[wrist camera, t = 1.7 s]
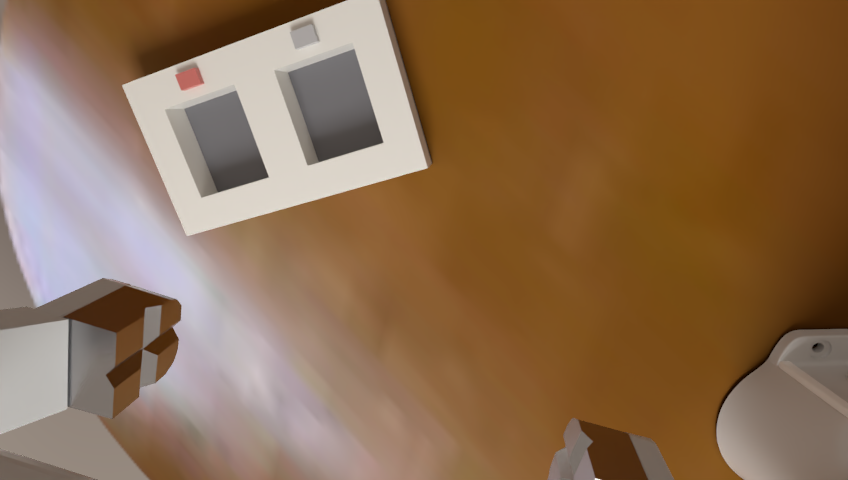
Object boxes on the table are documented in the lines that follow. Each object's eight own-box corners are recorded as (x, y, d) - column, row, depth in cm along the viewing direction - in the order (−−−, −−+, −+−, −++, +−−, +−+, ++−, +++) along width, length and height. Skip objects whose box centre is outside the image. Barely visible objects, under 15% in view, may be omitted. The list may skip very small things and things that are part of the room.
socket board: (385, -2, 36) (374, -13, 32) (432, 163, 39) (426, 169, 35) (148, 86, 40) (117, 84, 37) (207, 227, 43) (183, 237, 40)
